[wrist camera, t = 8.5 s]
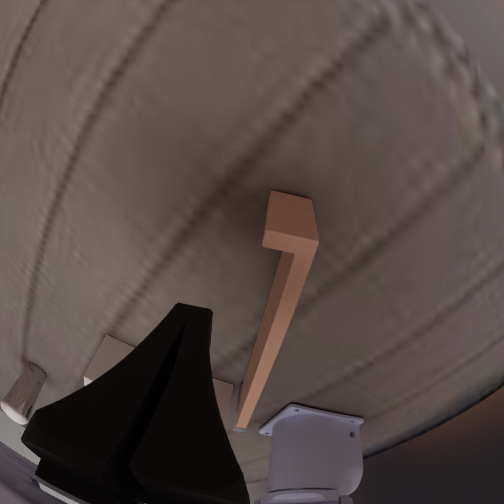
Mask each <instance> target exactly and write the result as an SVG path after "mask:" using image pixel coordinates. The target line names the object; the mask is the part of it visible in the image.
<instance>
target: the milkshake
mask: <svg viewBox="0 0 504 504" xmlns="http://www.w3.org/2000/svg"><path fill="white" fill-rule="evenodd" d="M45 380H46V374H45V373H44V371H43V370H42V369H40V368H39V367H38V366H36V365H35V364H33V363H29V364H28V366H27V367H26V368H25V370H24V371H23V372H22V374H21V375H20V376H19V378H18V379H17V381H16V382H15V383H14V385H13V386H12V388H11V389H10V390H9V392H8V393H7V394H6V396H5V397H4V399H3V400H2V401H1V405H0V408H1V407H2V409H3V411H4V412H5V413H6V414H7V415H8V417H10V418H11V419H12V420H13V421H15V422H17V423H19V424H21V425H24V424H27V423H28V421H29V418H30V415H31V413H32V410H33V407H34V405H35V402H36V400H37V398H38V395H39V393H40V391H41V389H42V387H43V384H44V382H45Z"/></svg>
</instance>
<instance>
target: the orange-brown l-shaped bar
mask: <svg viewBox="0 0 504 504" xmlns="http://www.w3.org/2000/svg"><path fill="white" fill-rule="evenodd" d="M318 244H319V236H318V231H317V225H316V219H315V214H314V209H313V203H312V200H311V199H307V198H303V197H299V196H294V195H290V194H285V193H281V192H276V191H272V190H271V193H270V197H269V202H268V207H267V214H266V221H265V228H264V235H263V242H262V247H266V248H271V249H275V250H280V251H282V253H281V257H280V260H279V264H278V267H277V271H276V274H275V278H274V281H273V285H272V288H271V292H270V295H269V299H268V302H267V305H266V309H265V312H264V316H263V319H262V322H261V326H260V329H259V332H258V336H257V339H256V342H255V345H254V349H253V352H252V355H251V358H250V362H249V365H248V368H247V371H246V375H245V378H244V381H243V384H242V385H241V386H239V392H238V398H237V404H236V411H235V417H234V423H233V430H234V431H235V432H239V433H244V432H247V427H248V422H249V420H250V418H251V415H252V413H253V411H254V409H255V406H256V404H257V402H258V399H259V397H260V395H261V392H262V390H263V388H264V385H265V383H266V381H267V378H268V376H269V374H270V371H271V369H272V366H273V364H274V361H275V359H276V357H277V354H278V352H279V349H280V347H281V344H282V342H283V339H284V337H285V334H286V331H287V329H288V326H289V324H290V321H291V319H292V316H293V313H294V311H295V308H296V305H297V303H298V300H299V297H300V295H301V292H302V289H303V286H304V284H305V281H306V278H307V275H308V273H309V270H310V267H311V264H312V261H313V258H314V256H315V253H316V250H317V247H318Z"/></svg>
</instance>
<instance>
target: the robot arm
mask: <svg viewBox="0 0 504 504" xmlns="http://www.w3.org/2000/svg"><path fill="white" fill-rule="evenodd" d="M212 317H213V312H212V310H211V309H207V308H202V307H197V306H192V305H187V304H183V303H177V304H175V306H174V307H173V308H172V309H171V311H170V312H169V313H168V314H167V315H166V317H165V318H164V319H163V320H162V321H161V322H160V323H159V324H158V326H157V327H156V328H155V329H154V330H153V331H152V332H151V333H150V334H149V335H148V336H147V337H146V338H145V339H144V340H143V341H142V342H141V343H140V344H139V345H138V346H137V347H136V348H134V349H133V350H132V351H131V352H130V353H129V354H128V355H127V356H126V357H124V358H123V359H122V360H121V361H120V362H118V363H117V364H116V365H115V366H113V367H112V368H111V369H110V370H108V371H107V372H105V373H104V374H103V375H101V376H100V377H98V378H97V379H95V380H94V381H92V382H91V383H89V384H88V385H86V386H84V387H83V388H81V389H79V390H77V391H76V392H74V393H72V394H70V395H68V396H67V397H65V398H63V399H61V400H58V401H56V402H54V403H52V404H49V405H47V406H45V407H42V408H40V409H38V410H36V411H35V413H34V414H33V416H32V417H31V419H30V421H29V423H28V425H27V427H26V429H25V431H24V433H23V435H22V437H21V441H22V443H24V445H25V446H26V447H27V448H29V449H30V450H31V451H32V452H33V453H35V454H36V455H37V456H38V457H40V458H41V460H40V462H39V464H38V465H36V464H34V463H33V462H31V461H29V460H28V459H26V458H25V457H23V456H21V455H20V454H18V453H17V452H15V451H14V450H12V449H11V448H9V447H8V446H6V445H5V444H3V443H2V442H0V504H67V503H66V502H64V501H62V500H60V499H58V498H55V497H54V496H52V495H50V494H48V493H47V492H44V491H43V490H41V488H40V486H39V483H41V484H43V485H45V486H47V487H48V488H50V489H52V490H54V491H56V492H58V493H59V494H61V495H63V496H65V497H67V498H69V499H71V500H73V501H75V502H78V503H80V504H145V503H146V504H250V499H249V494H248V491H247V487H246V483H245V480H244V476H243V473H242V470H241V468H240V466H239V464H238V462H237V459H236V457H235V455H234V452H233V450H232V447H231V445H230V442H229V439H228V437H227V434H226V431H225V427H224V424H223V421H222V418H221V415H220V411H219V407H218V403H217V399H216V395H215V390H214V385H213V379H212V372H211V364H210V352H209V348H210V343H211V330H212ZM363 422H364V419H363V418H359V417H353V416H348V415H342V414H337V413H332V412H327V411H322V410H318V409H313V408H309V407H305V406H300V405H296V404H290V405H288V406H287V407H286V408H285V409H284V410H282V411H281V412H280V413H279V414H278V415H276V416H275V417H274V418H273V419H271V420H270V421H269V422H268V423H266V424H265V425H264V426H263V427H261V428H260V429H259V433H260V434H264V435H268V436H272V438H271V450H270V461H269V472H268V483H267V493H261V498H260V499H258V500H256V501H254V502H253V504H353V502H352V499H351V498H350V497H348V495H349V494H350V493H352V492H353V491H354V490H355V489H356V488H357V486H358V485H359V483H360V480H361V477H362V473H363V462H362V461H363V460H362V447H361V435H360V425H361V424H362V423H363ZM37 481H38V482H39V483H38V482H37Z"/></svg>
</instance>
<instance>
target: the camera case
mask: <svg viewBox="0 0 504 504" xmlns="http://www.w3.org/2000/svg"><path fill="white" fill-rule="evenodd" d="M134 348H135V347H133V346H130V345H128V344H126V343H124V342H122V341H120V340H117V339H115V338H113V337H111V336H109V335H107V334H106V336H105V338H104V340H103V342H102V343H101V345H100V347H99V349H98V351H97V352H96V354H95V356H94V358H93V360H92V362H91V364H90V365H89V367H88V369H87V371H86V373H85V375H84V383H85V386H86V385H88V384H89V383H91V382H92V381H94V380H95V379H97V378H98V377H100V376H101V375H103V374H104V373H105V372H107V371H108V370H110V369H111V368H112V367H113V366H115V365H116V364H117V363H118V362H120V361H121V360H122V359H123V358H124V357H126V356H127V355H128V354H129V353H130V352H131V351H132V350H133V349H134ZM212 379H213V385H214V390H215V395H216V399H217V403H218V407H219V411H220V415H221V418H222V421H223V424H224V427H225V430H226V425H227V419H228V413H229V407H230V402H231V396H232V390H233V384H229V383H226V382H223V381H220V380H217V379H214V378H212Z"/></svg>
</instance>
